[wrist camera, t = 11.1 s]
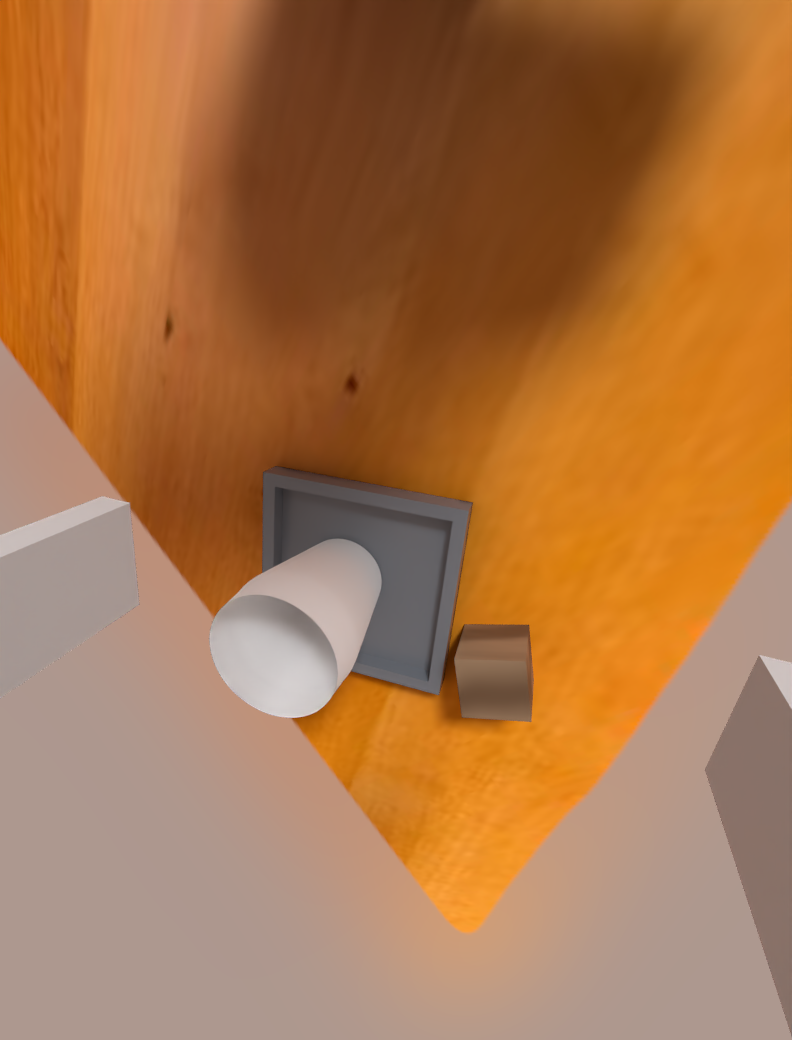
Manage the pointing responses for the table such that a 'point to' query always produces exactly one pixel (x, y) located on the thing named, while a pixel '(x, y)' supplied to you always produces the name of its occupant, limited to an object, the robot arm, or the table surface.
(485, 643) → the walnut cube
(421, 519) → the tray
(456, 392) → the table surface
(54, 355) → the table surface
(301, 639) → the cup
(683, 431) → the table surface
